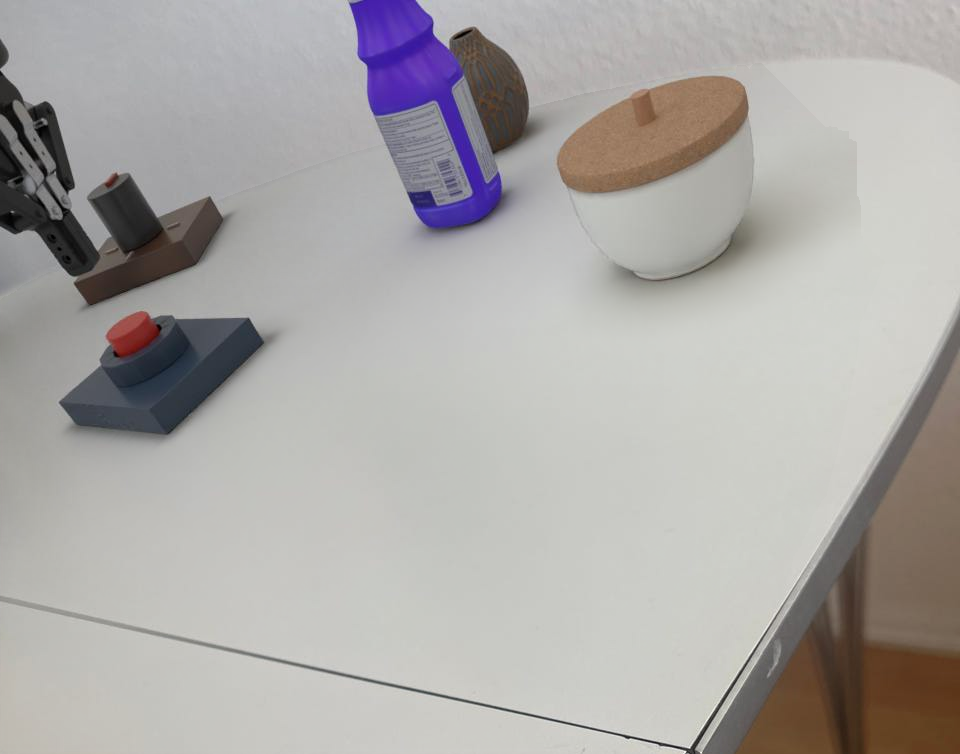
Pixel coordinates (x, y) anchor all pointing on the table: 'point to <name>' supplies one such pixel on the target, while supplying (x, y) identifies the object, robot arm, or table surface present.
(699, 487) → the table surface
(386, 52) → the bottle
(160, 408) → the button box
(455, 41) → the vase
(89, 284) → the panel
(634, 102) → the trinket box
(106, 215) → the dial knob
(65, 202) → the robot arm
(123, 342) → the button
